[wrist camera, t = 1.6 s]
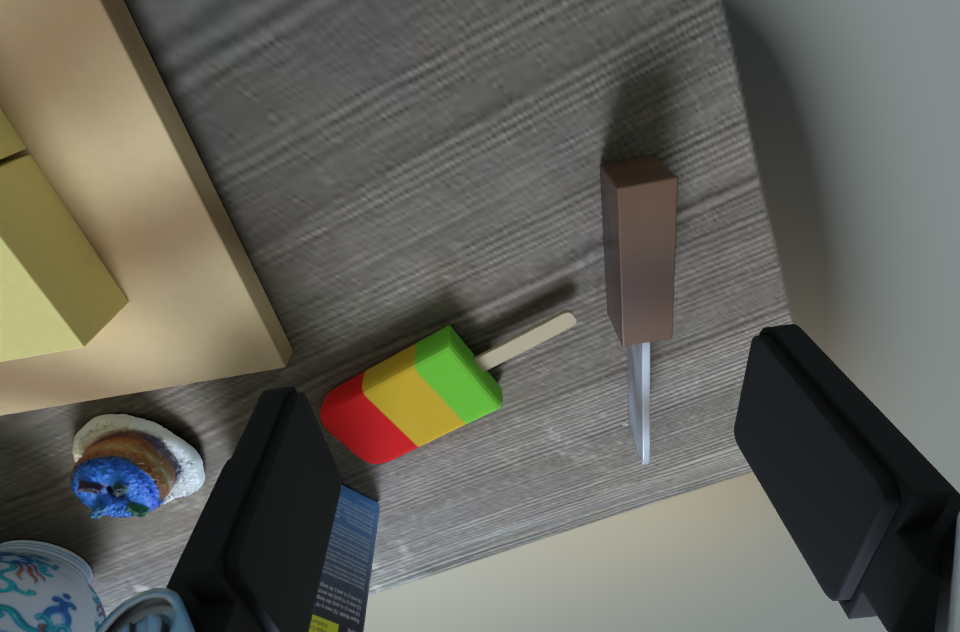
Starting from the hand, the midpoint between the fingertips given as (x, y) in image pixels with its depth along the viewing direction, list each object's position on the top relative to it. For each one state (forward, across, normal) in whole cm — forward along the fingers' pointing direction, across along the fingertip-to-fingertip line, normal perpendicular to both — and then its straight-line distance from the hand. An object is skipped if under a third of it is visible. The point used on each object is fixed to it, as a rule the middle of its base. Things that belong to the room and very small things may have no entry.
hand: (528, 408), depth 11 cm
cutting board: (+14, +20, -1) cm, 25 cm away
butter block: (+13, +20, -1) cm, 24 cm away
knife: (+14, -6, +8) cm, 18 cm away
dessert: (+14, +23, +14) cm, 31 cm away
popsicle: (+15, +4, +10) cm, 18 cm away
